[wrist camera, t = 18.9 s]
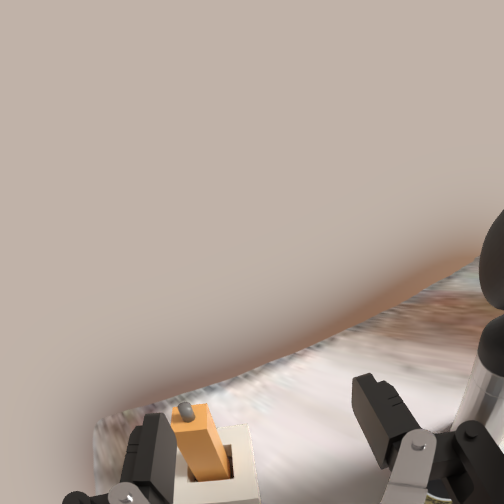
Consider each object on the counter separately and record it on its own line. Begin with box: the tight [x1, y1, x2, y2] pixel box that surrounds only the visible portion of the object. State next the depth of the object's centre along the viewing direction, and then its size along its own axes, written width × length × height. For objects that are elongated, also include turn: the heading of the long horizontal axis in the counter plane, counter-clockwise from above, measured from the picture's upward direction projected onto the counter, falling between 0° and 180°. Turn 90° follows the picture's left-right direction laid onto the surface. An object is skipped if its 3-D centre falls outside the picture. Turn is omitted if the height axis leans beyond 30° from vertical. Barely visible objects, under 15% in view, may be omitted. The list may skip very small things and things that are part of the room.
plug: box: [171, 402, 231, 482], centre depth 35 cm, size 4×4×16 cm
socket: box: [173, 424, 261, 504], centre depth 37 cm, size 14×12×4 cm
